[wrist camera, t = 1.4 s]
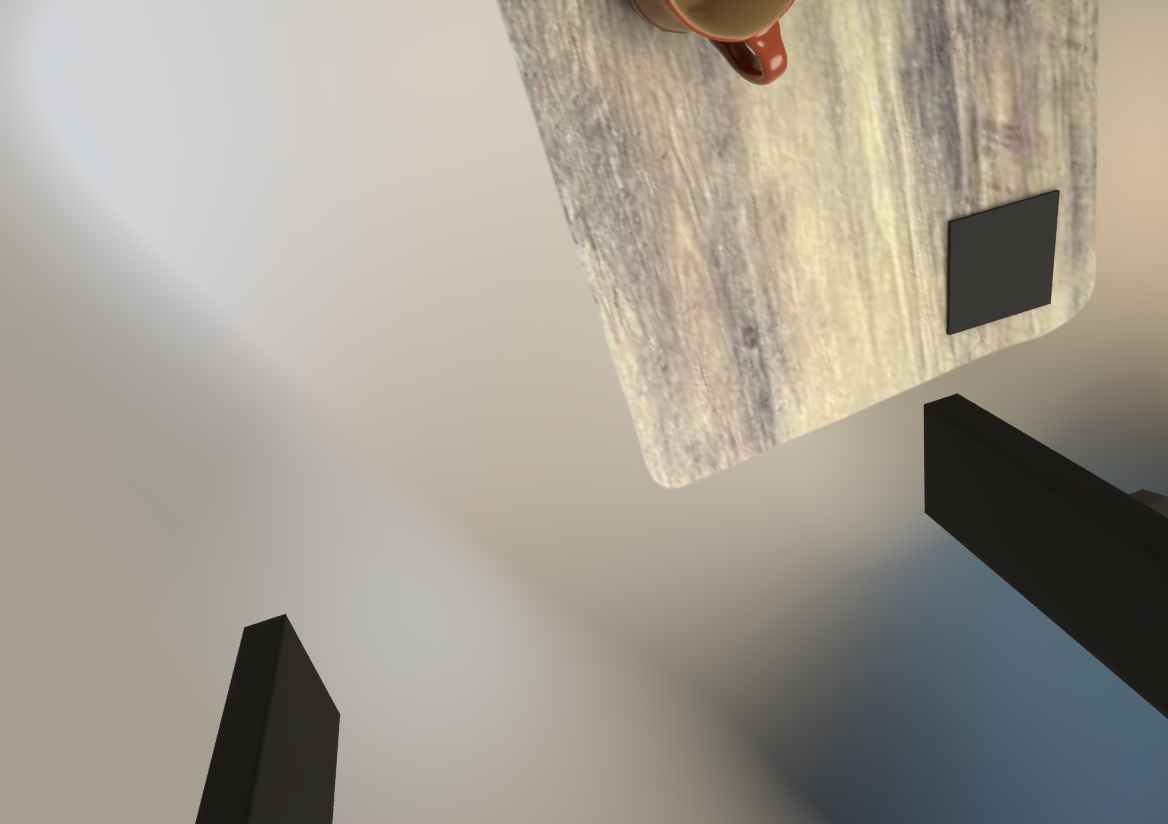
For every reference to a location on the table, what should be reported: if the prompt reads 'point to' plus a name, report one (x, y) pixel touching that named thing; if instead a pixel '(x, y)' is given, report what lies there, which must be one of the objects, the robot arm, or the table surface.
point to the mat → (1001, 261)
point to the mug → (728, 30)
